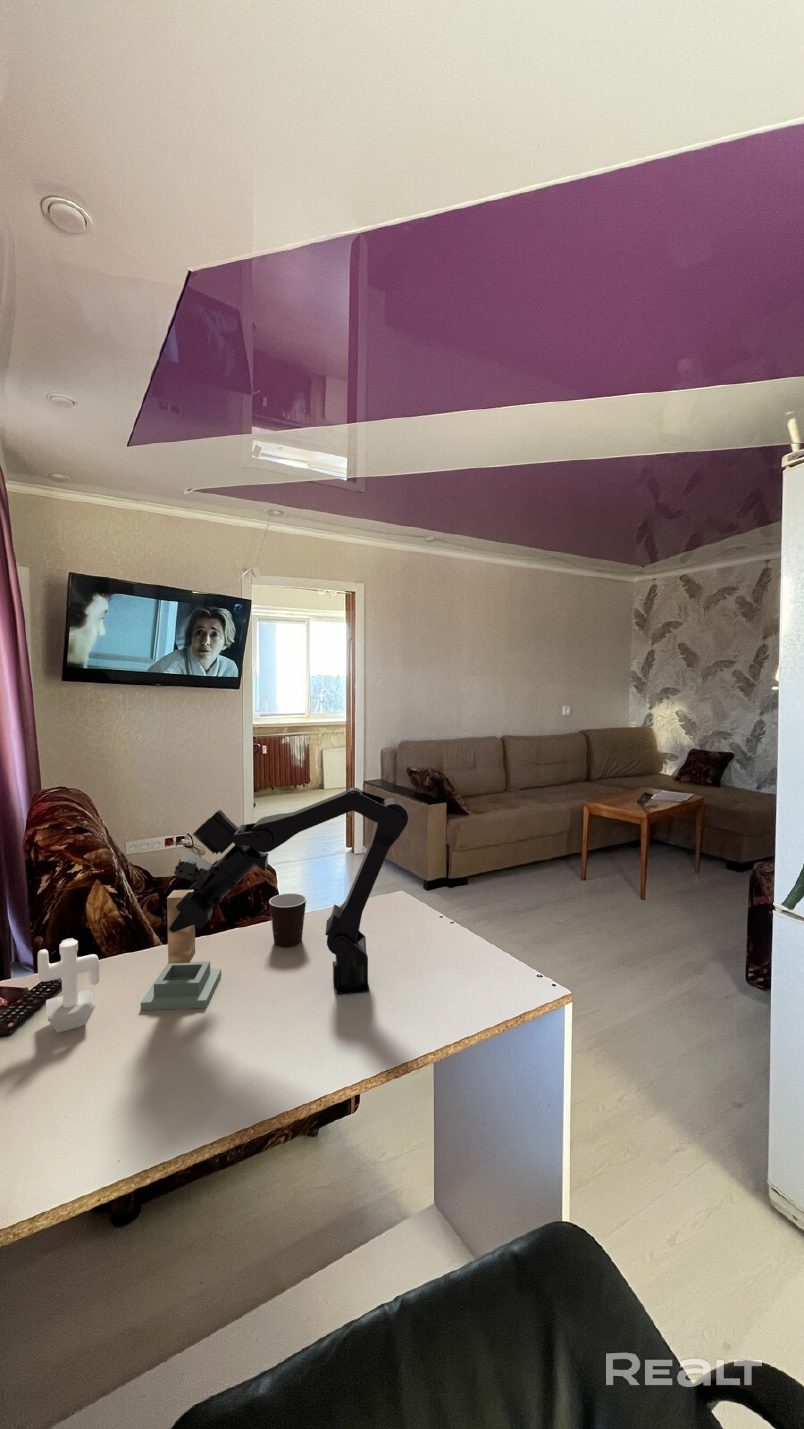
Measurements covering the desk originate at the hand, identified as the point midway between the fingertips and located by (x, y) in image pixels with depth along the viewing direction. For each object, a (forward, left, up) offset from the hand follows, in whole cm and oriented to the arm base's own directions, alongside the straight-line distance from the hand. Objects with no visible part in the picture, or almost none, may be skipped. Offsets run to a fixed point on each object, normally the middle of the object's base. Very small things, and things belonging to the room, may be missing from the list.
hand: (174, 925), depth 112 cm
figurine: (+17, +7, -14) cm, 23 cm away
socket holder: (-1, 0, -14) cm, 14 cm away
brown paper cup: (-22, -20, -14) cm, 33 cm away
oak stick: (-1, 0, -7) cm, 7 cm away
